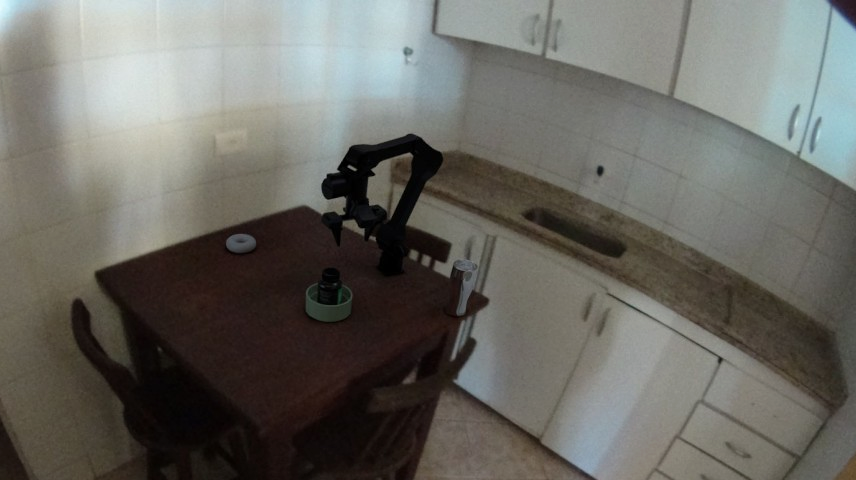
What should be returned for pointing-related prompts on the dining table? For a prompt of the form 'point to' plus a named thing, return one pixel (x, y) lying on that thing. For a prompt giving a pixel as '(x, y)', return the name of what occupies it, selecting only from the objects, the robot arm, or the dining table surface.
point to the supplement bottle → (329, 287)
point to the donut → (241, 243)
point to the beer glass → (460, 287)
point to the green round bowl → (328, 311)
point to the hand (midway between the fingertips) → (352, 243)
